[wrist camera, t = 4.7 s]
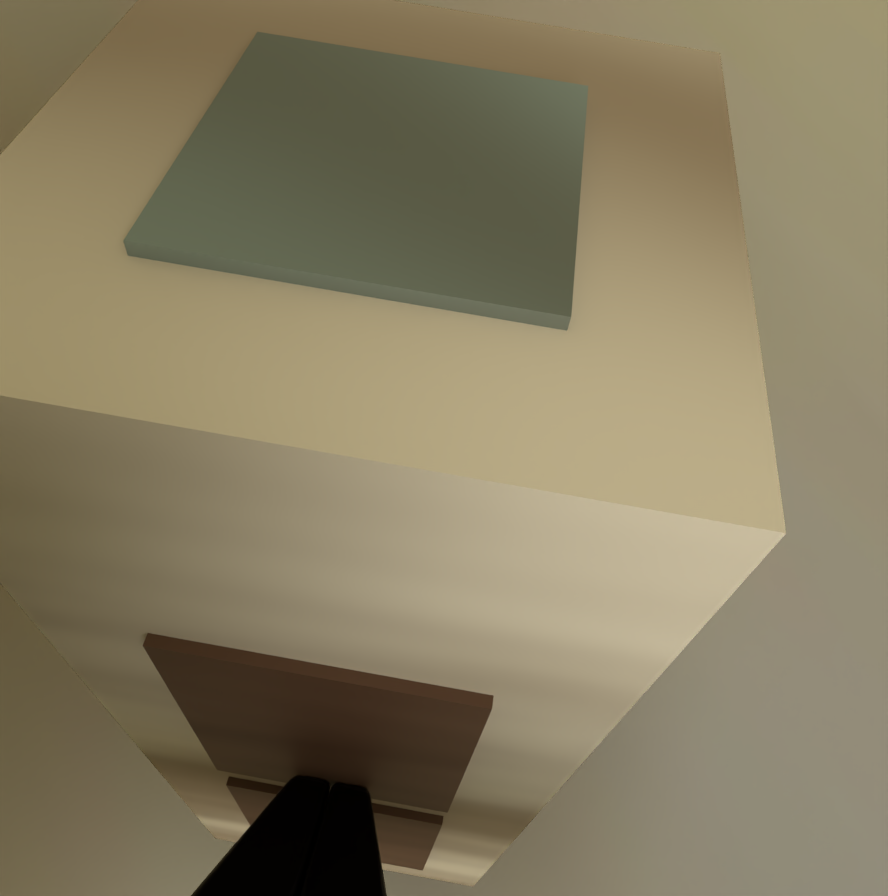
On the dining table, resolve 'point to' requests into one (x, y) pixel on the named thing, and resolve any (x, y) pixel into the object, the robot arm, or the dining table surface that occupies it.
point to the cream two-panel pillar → (378, 399)
